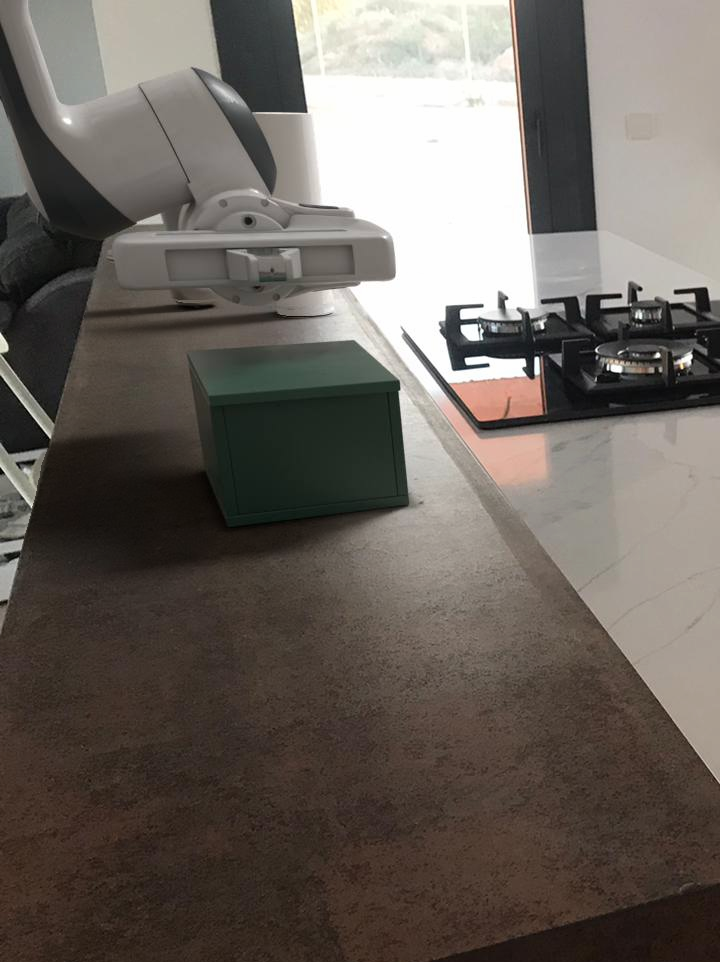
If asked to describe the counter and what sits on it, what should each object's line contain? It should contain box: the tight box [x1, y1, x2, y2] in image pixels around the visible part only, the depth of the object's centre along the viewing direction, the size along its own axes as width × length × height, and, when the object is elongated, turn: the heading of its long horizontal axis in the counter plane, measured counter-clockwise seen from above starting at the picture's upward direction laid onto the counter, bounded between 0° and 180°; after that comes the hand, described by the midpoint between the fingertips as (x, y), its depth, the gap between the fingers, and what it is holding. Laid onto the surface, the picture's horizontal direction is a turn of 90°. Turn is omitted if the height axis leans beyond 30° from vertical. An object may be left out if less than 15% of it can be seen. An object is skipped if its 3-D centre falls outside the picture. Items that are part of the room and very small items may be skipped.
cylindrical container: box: [252, 111, 335, 317], centre depth 167 cm, size 7×7×25 cm
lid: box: [186, 339, 402, 407], centre depth 95 cm, size 16×13×1 cm
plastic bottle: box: [159, 206, 221, 308], centre depth 170 cm, size 6×7×20 cm
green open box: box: [187, 361, 410, 528], centre depth 97 cm, size 16×13×9 cm
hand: (272, 270), depth 94 cm, fingers closed
